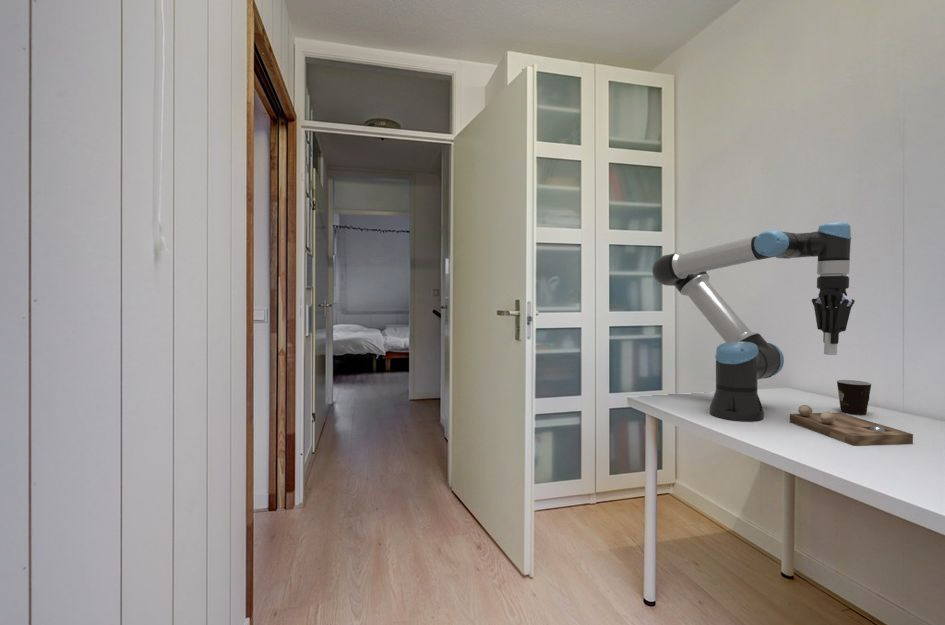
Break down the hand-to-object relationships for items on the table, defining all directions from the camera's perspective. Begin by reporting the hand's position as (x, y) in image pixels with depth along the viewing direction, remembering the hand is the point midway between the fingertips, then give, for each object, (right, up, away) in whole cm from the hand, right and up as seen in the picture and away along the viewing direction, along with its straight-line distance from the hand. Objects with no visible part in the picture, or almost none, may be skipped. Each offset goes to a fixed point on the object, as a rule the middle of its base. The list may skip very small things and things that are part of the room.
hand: (830, 354), depth 136 cm
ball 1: (-8, -17, 0) cm, 19 cm away
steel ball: (+2, -20, -14) cm, 24 cm away
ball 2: (-7, -17, -8) cm, 20 cm away
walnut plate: (-2, -21, -8) cm, 23 cm away
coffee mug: (+16, -20, +11) cm, 28 cm away
